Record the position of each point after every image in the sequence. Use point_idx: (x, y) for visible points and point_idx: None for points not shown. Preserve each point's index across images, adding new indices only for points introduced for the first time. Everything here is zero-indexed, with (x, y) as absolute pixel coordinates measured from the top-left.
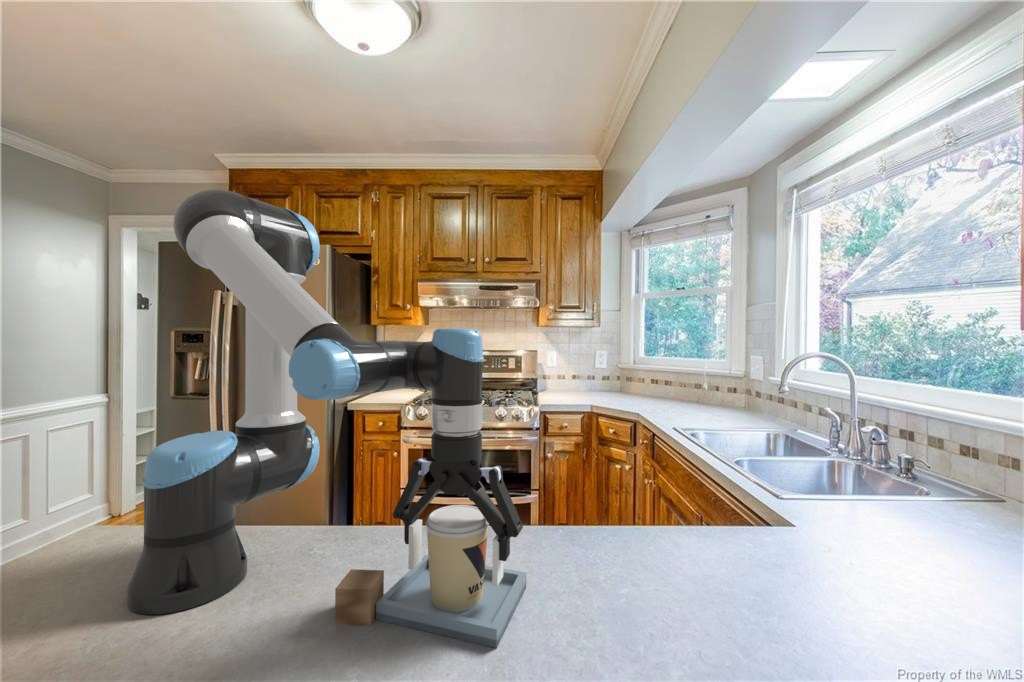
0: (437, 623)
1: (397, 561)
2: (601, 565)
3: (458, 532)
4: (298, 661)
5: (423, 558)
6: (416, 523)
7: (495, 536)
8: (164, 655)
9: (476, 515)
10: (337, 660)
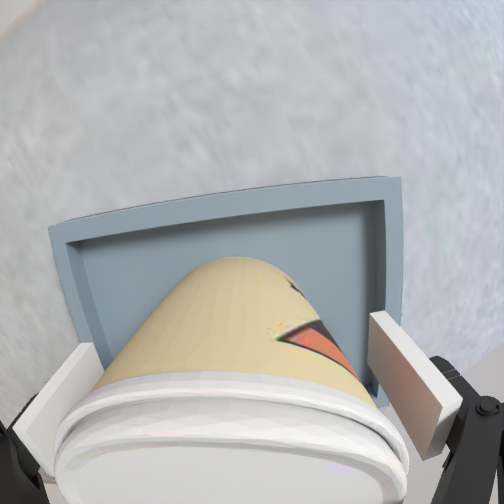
0: None
1: (5, 225)
2: (479, 32)
3: None
4: None
5: (55, 247)
6: (44, 460)
7: (430, 442)
8: None
9: (332, 499)
10: None
